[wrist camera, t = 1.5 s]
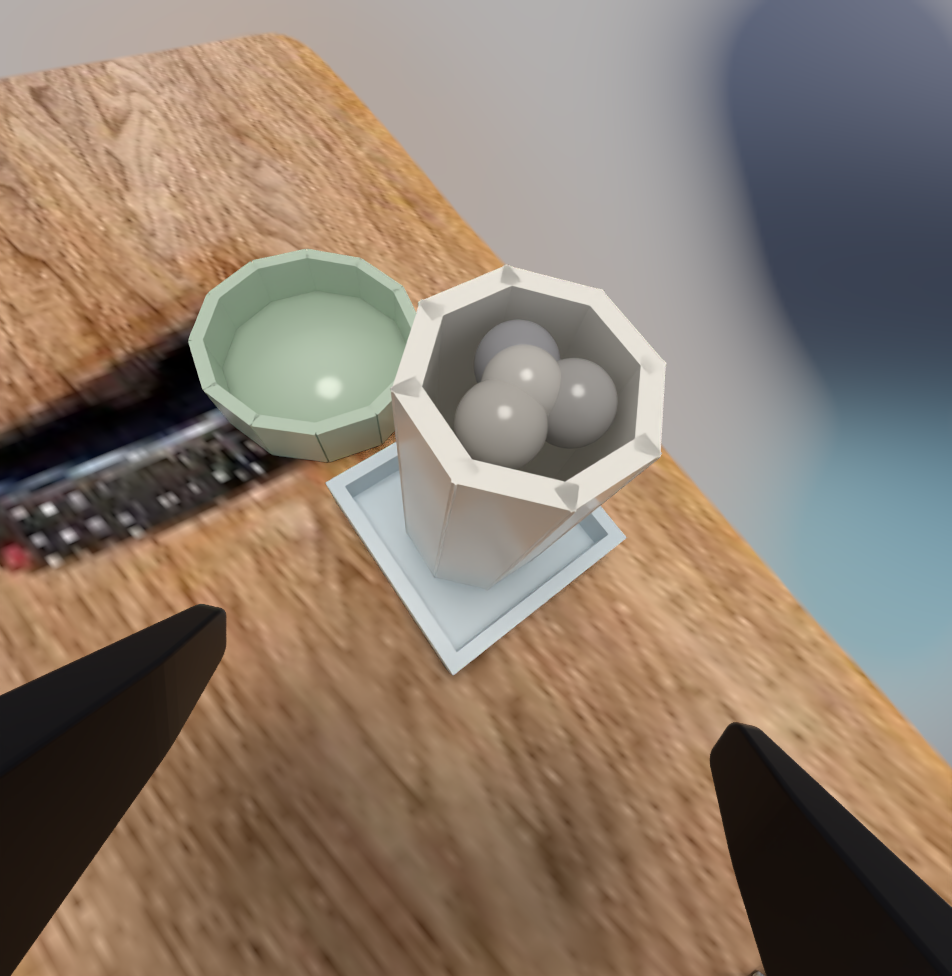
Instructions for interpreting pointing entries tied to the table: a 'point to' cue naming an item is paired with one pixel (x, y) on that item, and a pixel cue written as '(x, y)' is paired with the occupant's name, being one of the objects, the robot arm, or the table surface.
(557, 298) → the pebble cup
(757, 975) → the mineral specimen
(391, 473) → the parts tray
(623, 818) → the table surface
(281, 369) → the bowl
